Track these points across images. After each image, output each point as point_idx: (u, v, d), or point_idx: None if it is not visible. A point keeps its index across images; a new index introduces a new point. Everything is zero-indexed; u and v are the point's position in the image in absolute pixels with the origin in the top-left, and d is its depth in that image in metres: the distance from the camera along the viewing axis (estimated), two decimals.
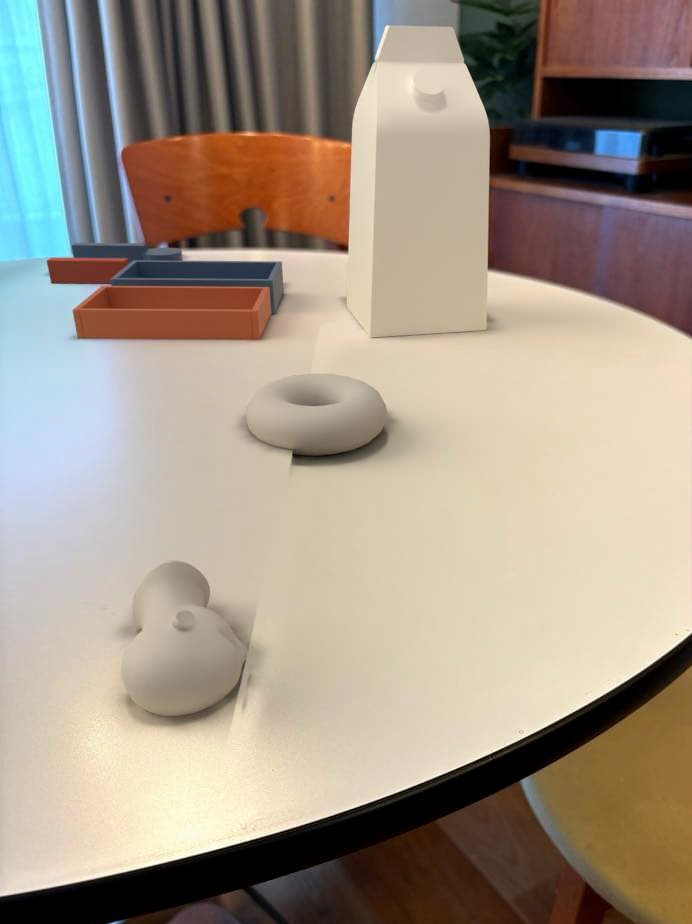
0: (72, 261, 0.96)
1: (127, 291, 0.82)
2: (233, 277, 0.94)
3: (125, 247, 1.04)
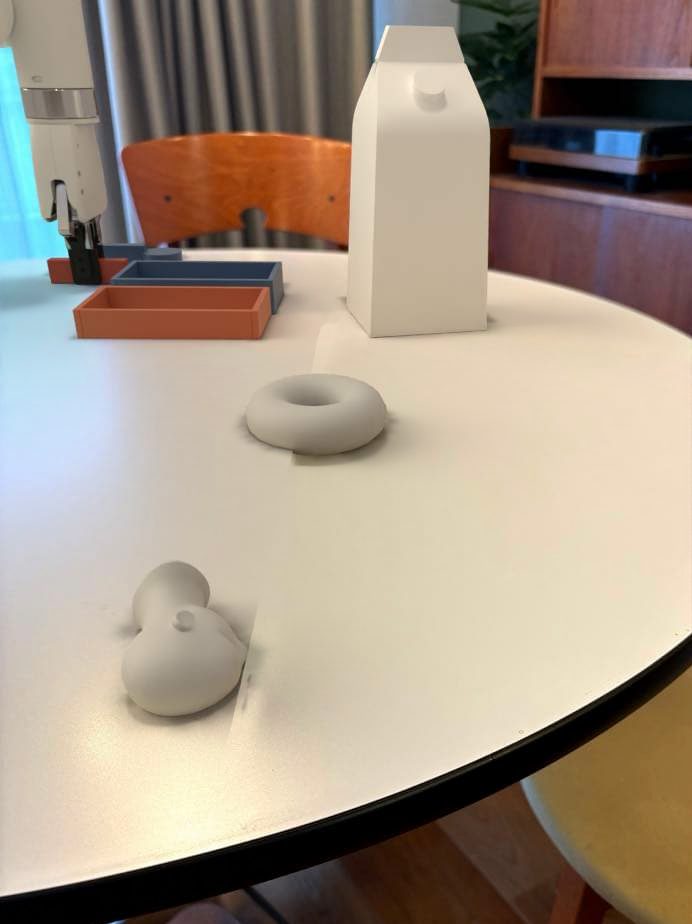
0: None
1: (127, 291, 0.82)
2: (233, 277, 0.94)
3: (125, 247, 1.04)
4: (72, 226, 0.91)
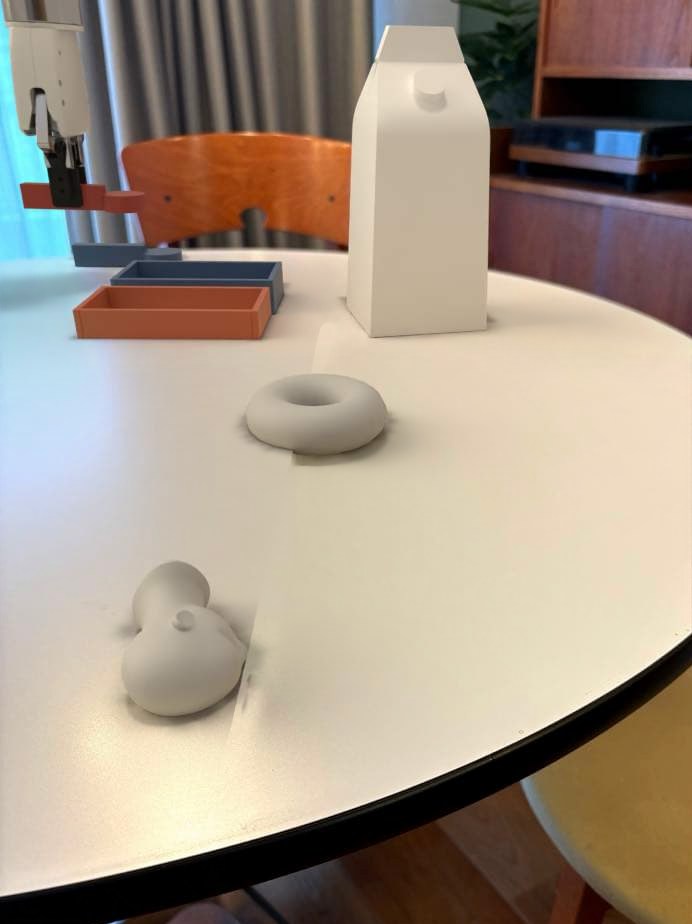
0: (46, 185, 0.92)
1: (127, 291, 0.82)
2: (233, 277, 0.94)
3: (125, 247, 1.04)
4: (52, 140, 0.86)
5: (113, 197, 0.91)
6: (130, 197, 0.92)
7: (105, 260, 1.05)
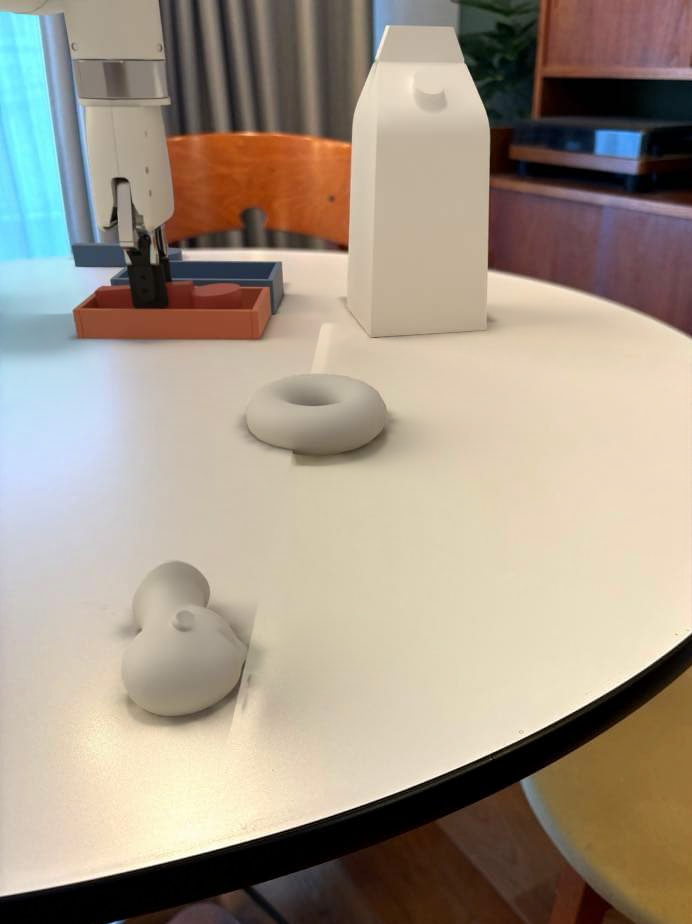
0: (126, 289, 0.77)
1: None
2: (233, 277, 0.94)
3: None
4: (136, 236, 0.71)
5: (206, 297, 0.77)
6: (225, 295, 0.77)
7: (105, 260, 1.05)
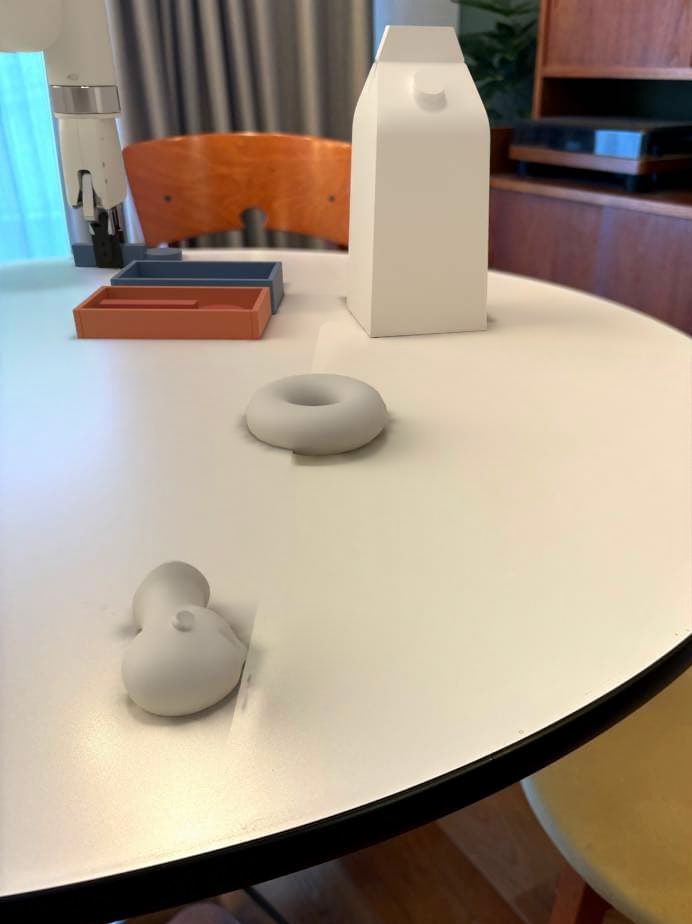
0: (130, 304, 0.78)
1: (127, 291, 0.82)
2: (233, 277, 0.94)
3: (125, 247, 1.04)
4: (96, 213, 0.99)
5: None
6: None
7: None
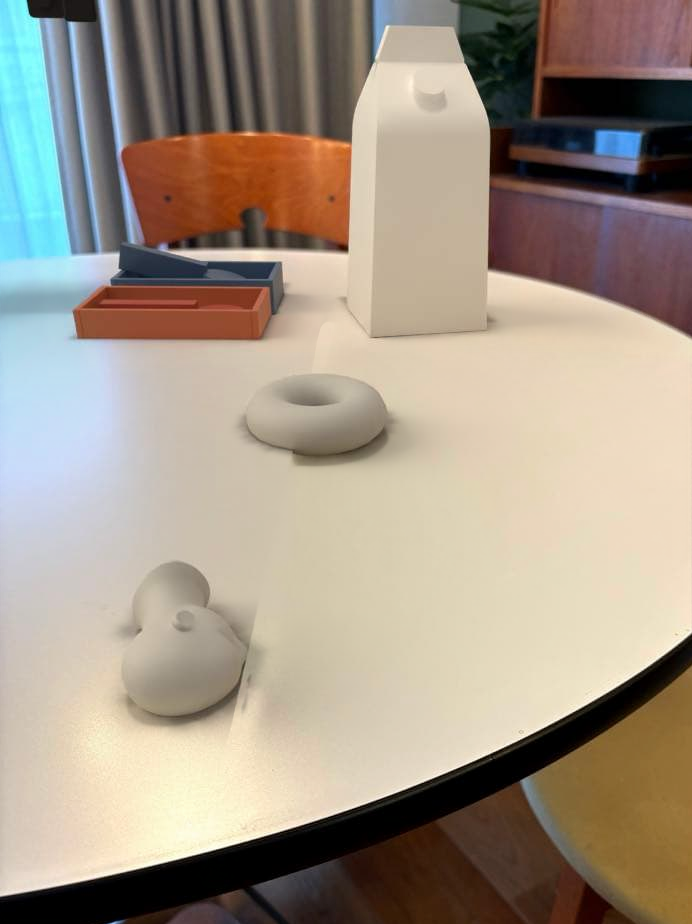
0: (130, 304, 0.78)
1: (127, 291, 0.82)
2: None
3: (184, 262, 0.88)
4: None
5: None
6: None
7: (156, 271, 0.88)
